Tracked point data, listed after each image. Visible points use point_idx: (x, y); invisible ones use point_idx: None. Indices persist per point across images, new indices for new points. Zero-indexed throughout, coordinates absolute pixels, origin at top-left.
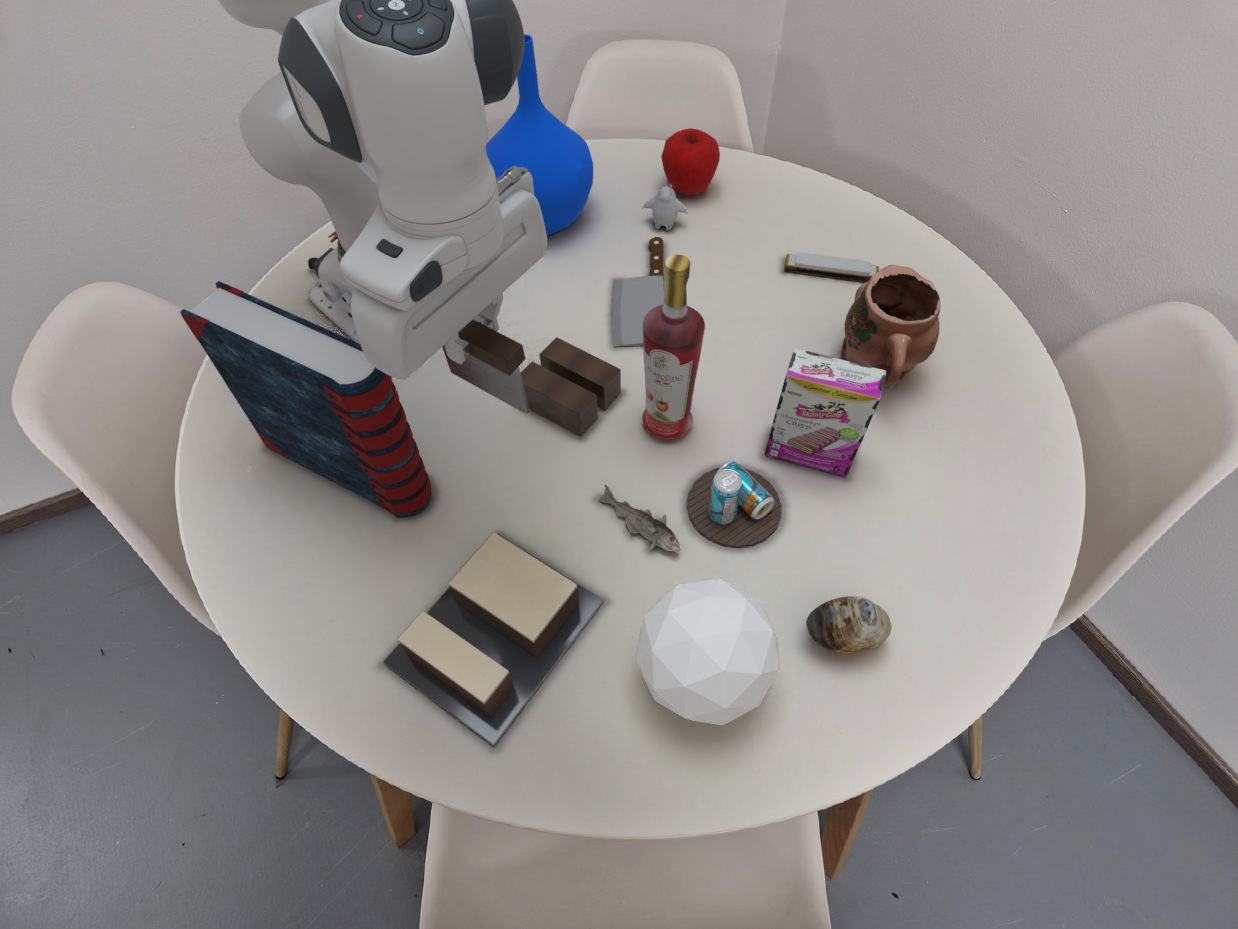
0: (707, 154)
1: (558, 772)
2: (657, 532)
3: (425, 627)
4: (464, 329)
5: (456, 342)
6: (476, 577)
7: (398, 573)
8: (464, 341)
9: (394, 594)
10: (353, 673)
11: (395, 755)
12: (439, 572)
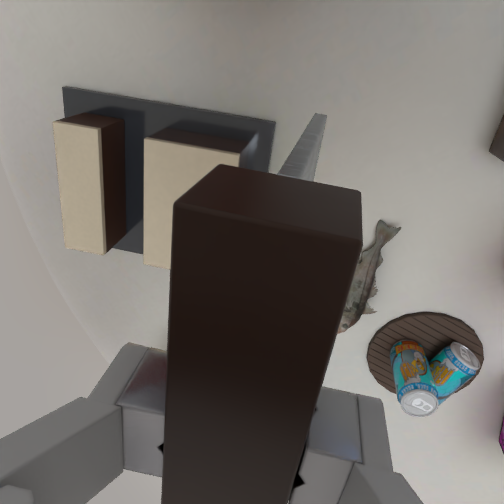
0: None
1: (96, 293)
2: (348, 309)
3: (83, 145)
4: (216, 447)
5: (131, 436)
6: (170, 169)
7: (161, 19)
8: (158, 459)
9: (135, 36)
10: (36, 57)
11: (14, 158)
12: (192, 76)
